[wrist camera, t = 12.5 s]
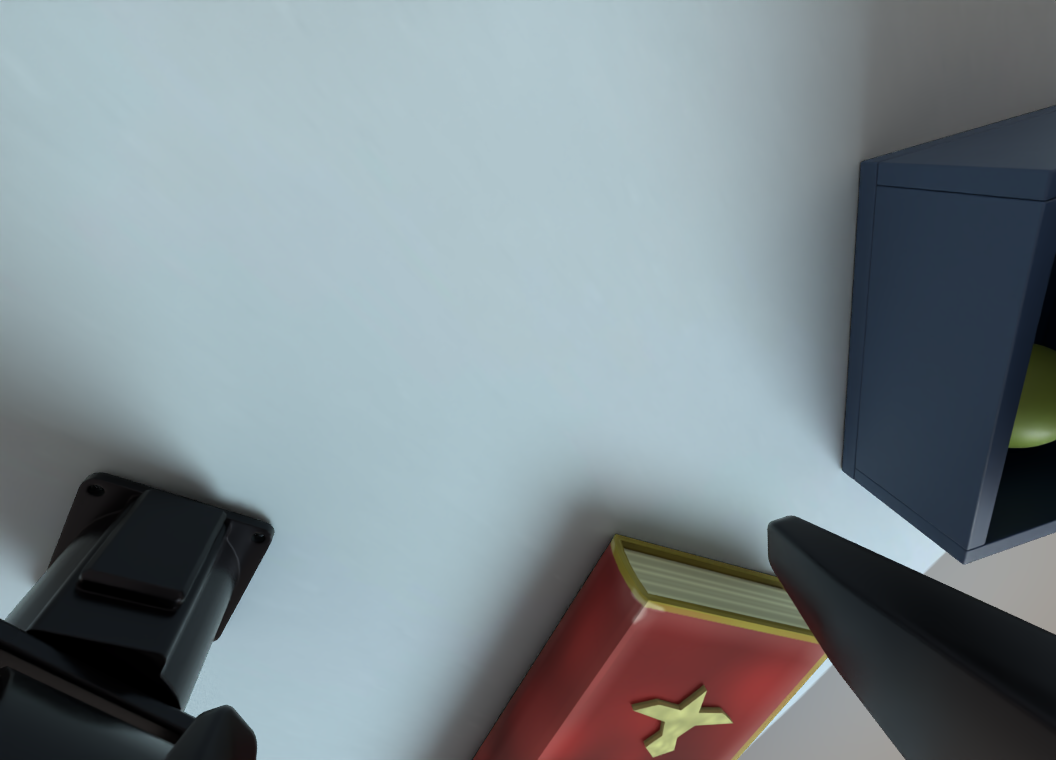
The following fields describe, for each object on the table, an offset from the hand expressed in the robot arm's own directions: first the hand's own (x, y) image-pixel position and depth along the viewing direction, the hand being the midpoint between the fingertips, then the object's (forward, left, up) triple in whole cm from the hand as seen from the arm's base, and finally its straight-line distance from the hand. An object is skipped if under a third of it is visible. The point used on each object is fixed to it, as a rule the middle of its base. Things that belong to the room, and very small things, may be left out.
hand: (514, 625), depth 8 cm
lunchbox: (+12, -18, -12) cm, 25 cm away
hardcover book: (-14, -18, -12) cm, 26 cm away
